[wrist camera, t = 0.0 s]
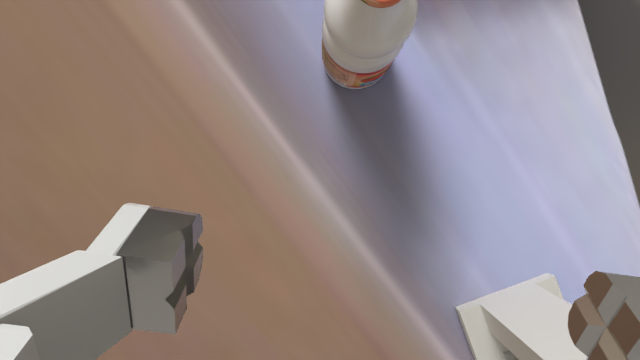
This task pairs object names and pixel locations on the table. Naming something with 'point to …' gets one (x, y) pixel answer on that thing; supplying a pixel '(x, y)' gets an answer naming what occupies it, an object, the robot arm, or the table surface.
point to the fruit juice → (364, 38)
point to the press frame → (520, 323)
